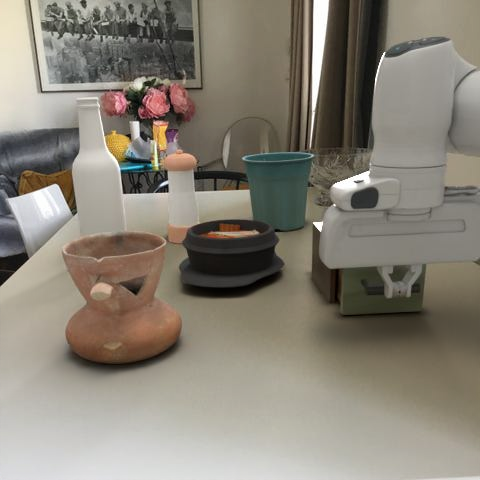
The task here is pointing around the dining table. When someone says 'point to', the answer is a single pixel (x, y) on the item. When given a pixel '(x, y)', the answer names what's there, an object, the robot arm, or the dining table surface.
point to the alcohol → (96, 176)
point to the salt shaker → (181, 195)
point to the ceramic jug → (119, 297)
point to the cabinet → (322, 268)
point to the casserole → (229, 253)
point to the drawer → (375, 291)
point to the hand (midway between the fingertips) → (396, 296)
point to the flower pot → (279, 188)
